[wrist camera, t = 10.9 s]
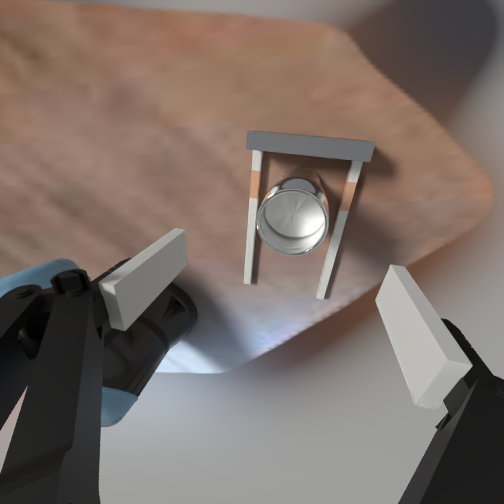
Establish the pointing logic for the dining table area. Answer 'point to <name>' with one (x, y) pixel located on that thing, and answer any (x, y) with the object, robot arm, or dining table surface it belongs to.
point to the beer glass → (294, 214)
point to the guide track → (308, 147)
